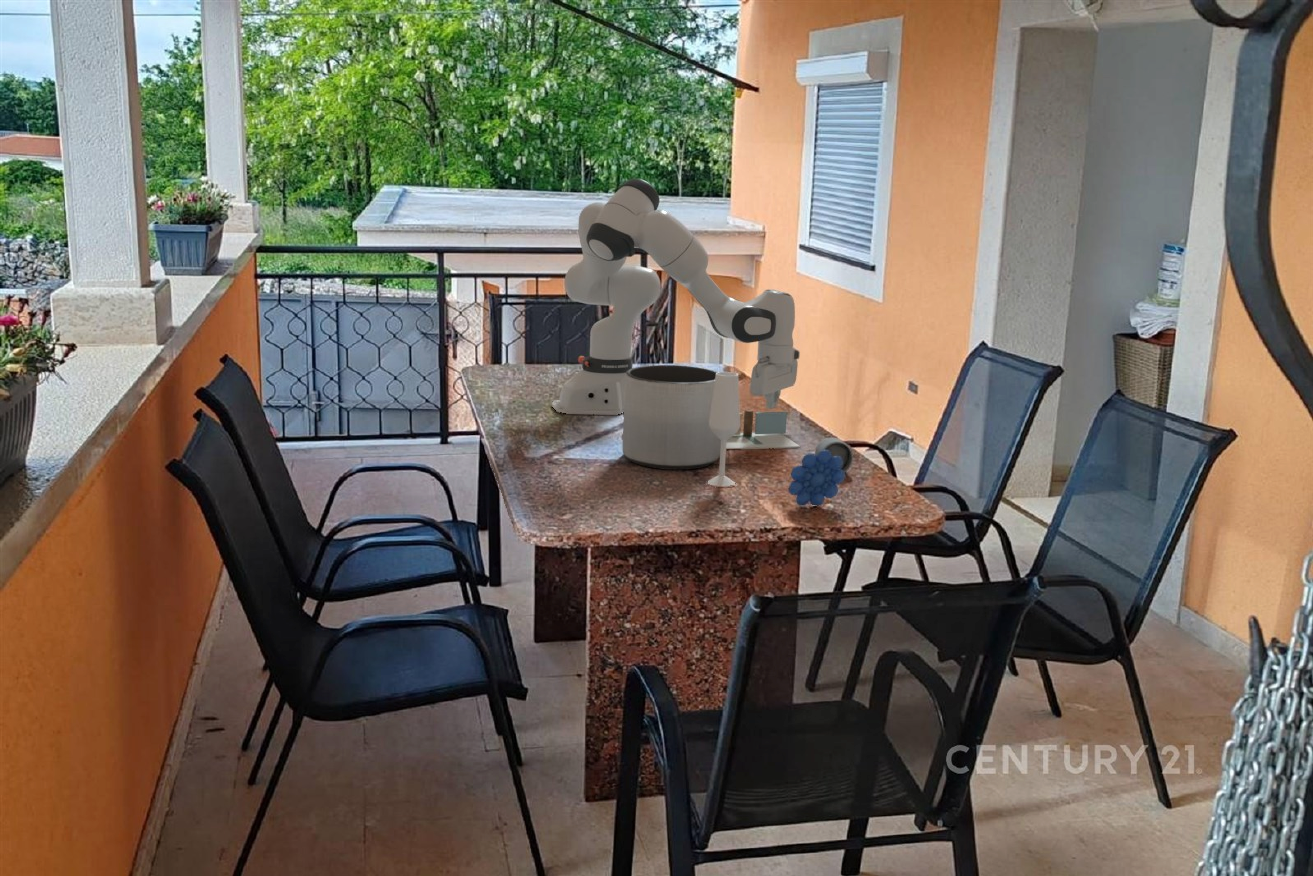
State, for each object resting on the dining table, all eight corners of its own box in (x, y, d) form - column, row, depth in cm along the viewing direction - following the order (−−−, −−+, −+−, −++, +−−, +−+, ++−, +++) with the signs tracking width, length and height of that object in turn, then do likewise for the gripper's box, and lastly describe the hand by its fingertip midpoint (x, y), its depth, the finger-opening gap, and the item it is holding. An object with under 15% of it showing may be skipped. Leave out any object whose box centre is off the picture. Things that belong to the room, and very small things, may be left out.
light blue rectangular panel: (755, 434, 305) (756, 413, 304) (754, 433, 306) (755, 412, 305) (786, 433, 307) (787, 412, 306) (784, 432, 308) (786, 411, 307)
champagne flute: (711, 488, 259) (717, 377, 253) (701, 480, 265) (706, 371, 259) (741, 487, 260) (747, 376, 255) (730, 479, 267) (736, 370, 261)
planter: (635, 473, 268) (639, 383, 264) (612, 448, 290) (614, 365, 285) (733, 470, 274) (737, 382, 270) (702, 445, 296) (706, 364, 291)
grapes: (836, 500, 254) (840, 444, 251) (846, 510, 247) (850, 452, 244) (782, 500, 252) (785, 444, 249) (790, 510, 245) (794, 452, 243)
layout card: (717, 450, 292) (717, 448, 291) (699, 435, 306) (699, 433, 306) (799, 447, 297) (800, 445, 297) (778, 433, 311) (778, 431, 311)
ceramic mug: (843, 466, 282) (845, 433, 280) (852, 475, 274) (854, 442, 272) (798, 466, 281) (800, 433, 279) (805, 475, 273) (807, 442, 271)
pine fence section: (703, 439, 301) (704, 412, 300) (700, 437, 303) (701, 411, 302) (753, 438, 305) (754, 411, 303) (750, 436, 307) (751, 410, 305)
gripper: (768, 361, 298) (765, 416, 301) (802, 351, 315) (799, 403, 318) (745, 358, 301) (742, 413, 304) (780, 348, 318) (777, 400, 321)
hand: (771, 408), depth 311 cm, fingers closed
